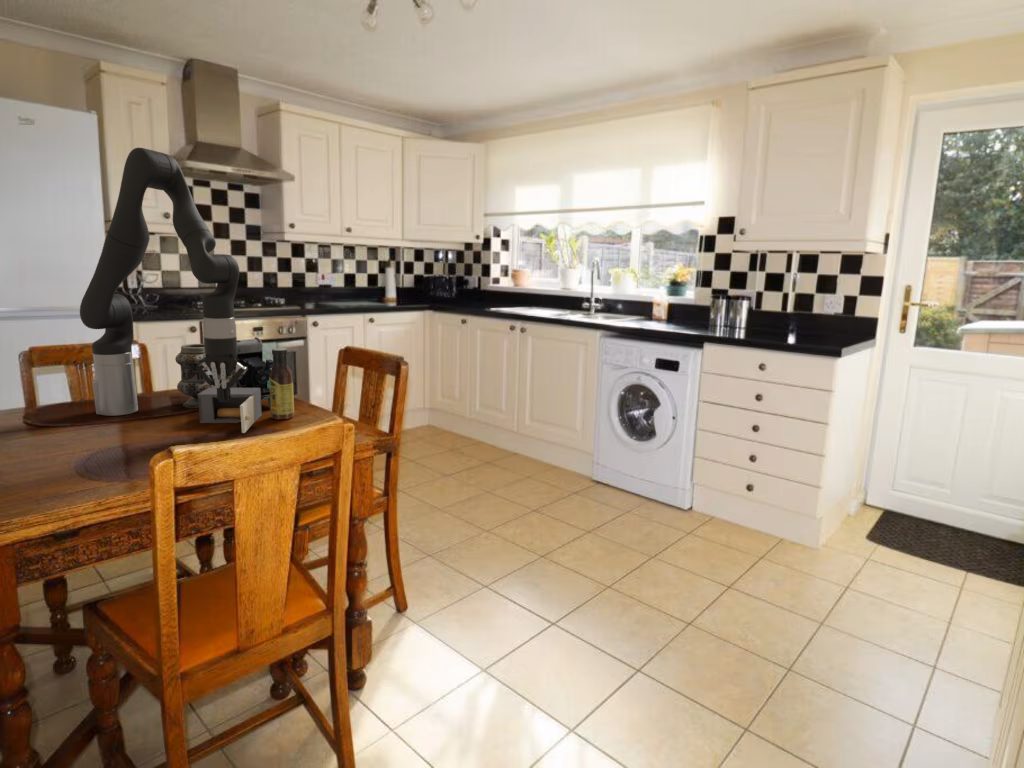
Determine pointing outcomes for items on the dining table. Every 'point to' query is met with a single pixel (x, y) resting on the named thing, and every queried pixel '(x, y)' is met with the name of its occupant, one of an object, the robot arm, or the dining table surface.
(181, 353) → the apothecary jar
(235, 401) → the case
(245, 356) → the vintage camera
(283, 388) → the sauce bottle
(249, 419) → the door
